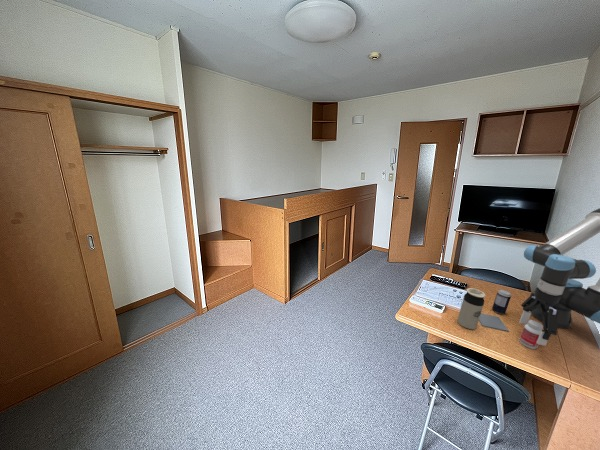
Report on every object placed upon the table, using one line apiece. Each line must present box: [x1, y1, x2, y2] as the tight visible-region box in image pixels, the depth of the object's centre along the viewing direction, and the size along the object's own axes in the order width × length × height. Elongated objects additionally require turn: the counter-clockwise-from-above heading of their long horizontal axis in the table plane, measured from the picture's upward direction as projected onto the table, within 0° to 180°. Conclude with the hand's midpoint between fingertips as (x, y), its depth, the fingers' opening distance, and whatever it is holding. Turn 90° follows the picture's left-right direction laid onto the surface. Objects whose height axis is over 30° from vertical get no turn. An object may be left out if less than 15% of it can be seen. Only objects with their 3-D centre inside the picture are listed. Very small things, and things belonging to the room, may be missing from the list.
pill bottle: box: [518, 319, 544, 350], centre depth 107 cm, size 6×6×11 cm
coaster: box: [478, 312, 510, 333], centre depth 122 cm, size 11×11×1 cm
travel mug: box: [456, 287, 486, 330], centre depth 117 cm, size 8×8×18 cm
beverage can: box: [492, 289, 512, 315], centre depth 129 cm, size 6×6×12 cm
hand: (531, 333), depth 107 cm, fingers open, 13 cm apart
